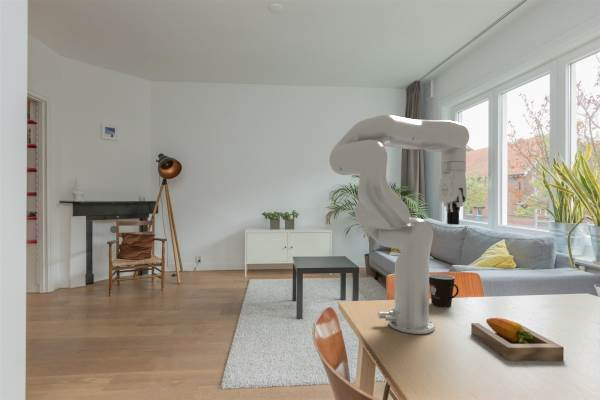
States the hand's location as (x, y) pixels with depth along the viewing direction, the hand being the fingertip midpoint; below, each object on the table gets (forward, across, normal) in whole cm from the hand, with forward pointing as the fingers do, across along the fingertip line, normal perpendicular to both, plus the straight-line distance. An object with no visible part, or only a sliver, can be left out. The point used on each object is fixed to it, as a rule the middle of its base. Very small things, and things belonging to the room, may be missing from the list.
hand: (452, 224), depth 113 cm
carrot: (+27, +14, +3) cm, 30 cm away
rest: (+29, +26, +3) cm, 39 cm away
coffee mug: (+29, -8, 0) cm, 30 cm away
